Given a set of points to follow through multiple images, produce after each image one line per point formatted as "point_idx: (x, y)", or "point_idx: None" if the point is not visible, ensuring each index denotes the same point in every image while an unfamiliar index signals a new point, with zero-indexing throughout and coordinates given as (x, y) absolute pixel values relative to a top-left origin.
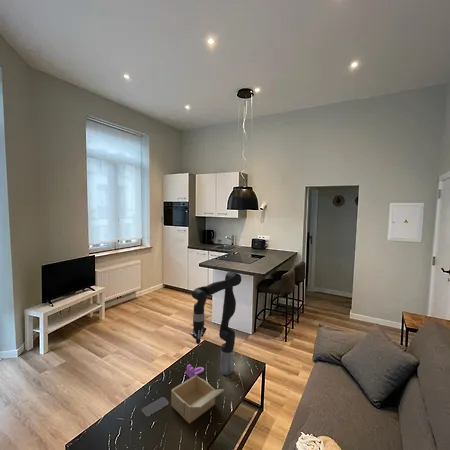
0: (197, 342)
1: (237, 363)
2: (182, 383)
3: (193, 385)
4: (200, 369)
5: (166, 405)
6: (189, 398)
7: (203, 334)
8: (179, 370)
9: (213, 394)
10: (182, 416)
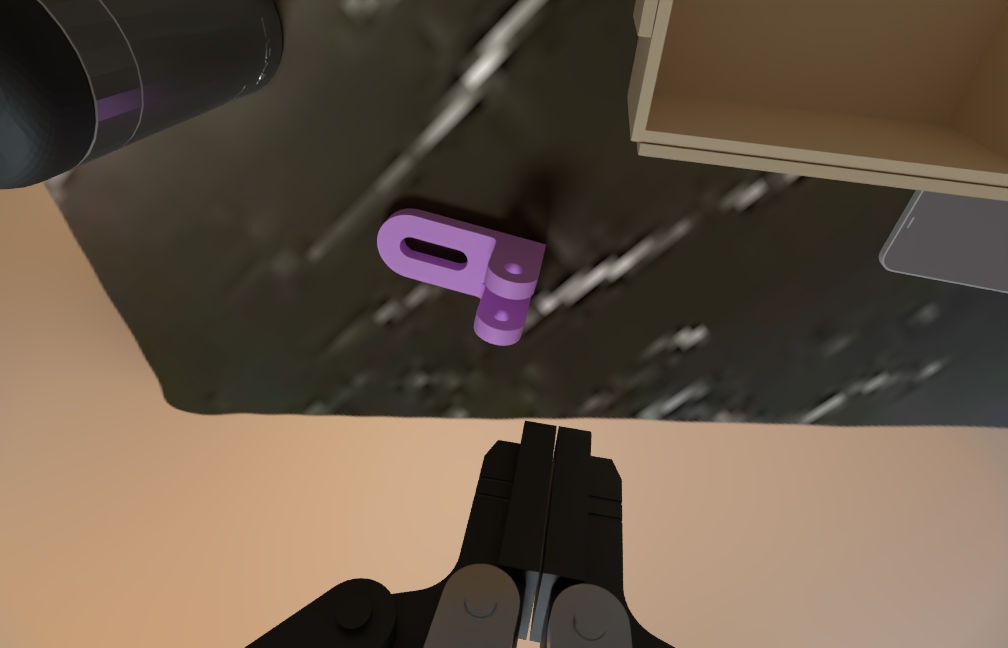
0: (612, 498)
1: None
2: (860, 174)
3: (681, 110)
4: (404, 247)
5: None
6: (785, 51)
7: (276, 644)
8: (534, 367)
9: None
10: None
